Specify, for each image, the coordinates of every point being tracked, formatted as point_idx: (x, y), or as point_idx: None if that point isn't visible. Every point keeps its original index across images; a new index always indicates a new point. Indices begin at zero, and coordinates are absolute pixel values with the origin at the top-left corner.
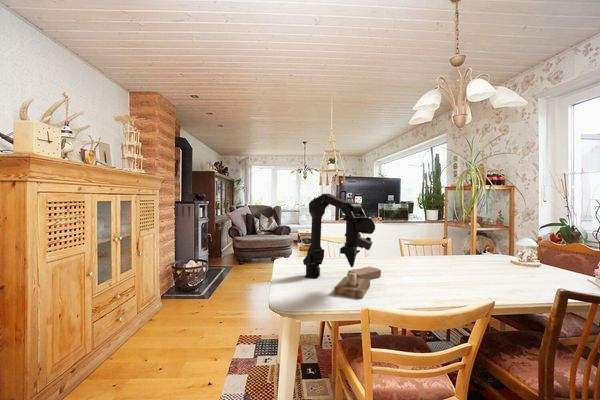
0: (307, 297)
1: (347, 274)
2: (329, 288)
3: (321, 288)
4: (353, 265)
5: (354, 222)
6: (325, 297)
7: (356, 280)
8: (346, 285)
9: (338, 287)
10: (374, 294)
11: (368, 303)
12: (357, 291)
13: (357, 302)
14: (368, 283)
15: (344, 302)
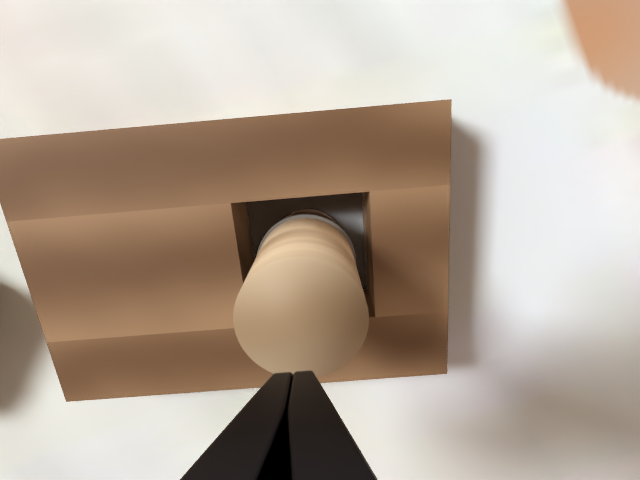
0: (570, 457)
1: (345, 361)
2: None
3: None
4: (282, 385)
5: None
6: (524, 365)
7: (119, 267)
8: None
9: (439, 342)
10: (256, 28)
11: (529, 17)
12: (447, 156)
13: (540, 117)
14: (100, 130)
15: (578, 213)
